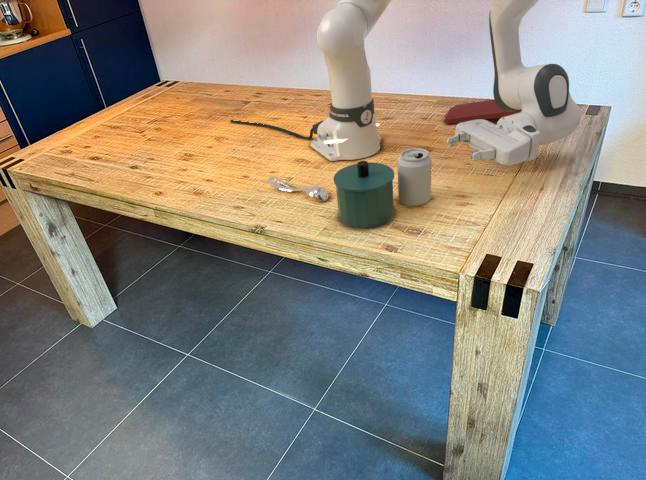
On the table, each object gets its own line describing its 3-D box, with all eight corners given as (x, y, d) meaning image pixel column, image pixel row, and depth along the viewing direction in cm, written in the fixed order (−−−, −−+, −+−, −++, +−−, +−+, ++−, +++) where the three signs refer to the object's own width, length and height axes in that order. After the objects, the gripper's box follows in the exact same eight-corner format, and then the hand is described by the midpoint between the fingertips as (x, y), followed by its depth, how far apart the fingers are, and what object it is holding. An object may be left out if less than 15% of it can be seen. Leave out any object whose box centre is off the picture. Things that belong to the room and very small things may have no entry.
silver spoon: (261, 174, 135) (273, 167, 138) (263, 186, 138) (275, 179, 140) (319, 195, 124) (331, 186, 126) (320, 207, 126) (332, 199, 128)
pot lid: (322, 188, 113) (320, 171, 111) (353, 163, 121) (351, 147, 118) (375, 198, 105) (374, 181, 103) (404, 171, 113) (404, 154, 111)
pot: (329, 222, 118) (325, 185, 113) (356, 197, 125) (353, 162, 120) (376, 233, 111) (374, 194, 106) (402, 206, 119) (401, 169, 113)
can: (428, 208, 116) (429, 160, 109) (395, 207, 119) (394, 160, 112) (432, 193, 121) (433, 145, 114) (401, 192, 124) (400, 146, 117)
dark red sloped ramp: (445, 135, 155) (535, 125, 142) (443, 119, 153) (535, 108, 140) (453, 120, 164) (539, 109, 150) (451, 105, 161) (539, 93, 148)
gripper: (486, 109, 125) (436, 122, 123) (544, 134, 108) (487, 151, 106) (484, 133, 128) (435, 147, 126) (540, 162, 112) (485, 178, 110)
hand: (459, 149), depth 116 cm, fingers open, 8 cm apart
